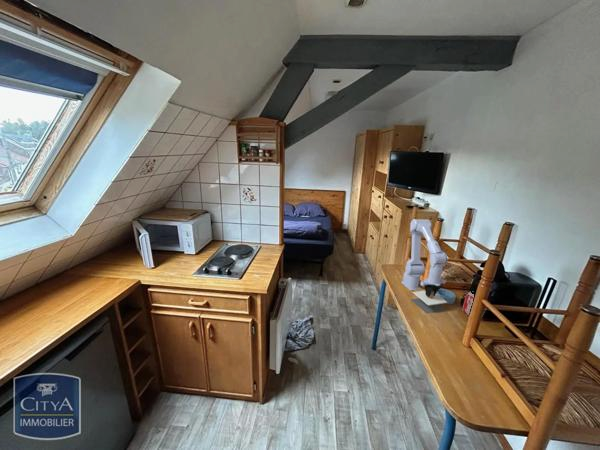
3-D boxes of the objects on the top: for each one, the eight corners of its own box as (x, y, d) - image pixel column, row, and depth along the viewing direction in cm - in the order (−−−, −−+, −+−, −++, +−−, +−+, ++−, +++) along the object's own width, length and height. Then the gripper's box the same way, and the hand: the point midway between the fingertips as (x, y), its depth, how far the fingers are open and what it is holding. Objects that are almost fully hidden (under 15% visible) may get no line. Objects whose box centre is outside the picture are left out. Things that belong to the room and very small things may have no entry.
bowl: (430, 295, 147) (432, 289, 146) (444, 293, 149) (445, 287, 148) (443, 305, 138) (445, 299, 136) (458, 303, 140) (459, 297, 139)
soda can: (479, 319, 127) (485, 299, 124) (464, 316, 129) (470, 297, 125) (473, 310, 134) (479, 291, 130) (459, 308, 135) (464, 289, 132)
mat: (410, 299, 142) (410, 299, 141) (429, 297, 145) (429, 296, 145) (426, 314, 130) (426, 313, 129) (446, 311, 133) (446, 310, 133)
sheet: (413, 292, 140) (414, 286, 138) (430, 290, 143) (432, 283, 141) (428, 305, 129) (430, 298, 127) (447, 302, 132) (448, 295, 130)
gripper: (429, 278, 126) (424, 301, 130) (452, 276, 129) (446, 298, 133) (419, 272, 132) (415, 293, 136) (441, 269, 136) (436, 290, 140)
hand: (430, 295), depth 135 cm, fingers closed on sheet, 3 cm apart
